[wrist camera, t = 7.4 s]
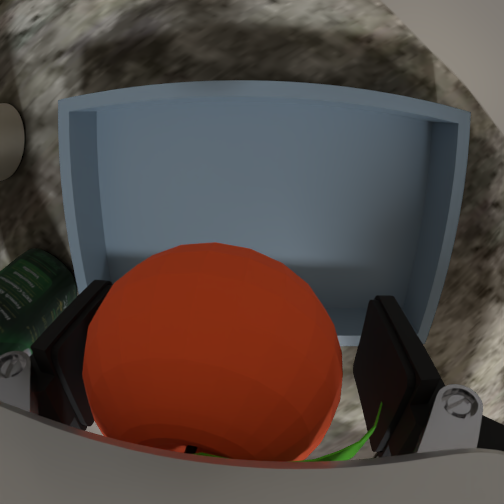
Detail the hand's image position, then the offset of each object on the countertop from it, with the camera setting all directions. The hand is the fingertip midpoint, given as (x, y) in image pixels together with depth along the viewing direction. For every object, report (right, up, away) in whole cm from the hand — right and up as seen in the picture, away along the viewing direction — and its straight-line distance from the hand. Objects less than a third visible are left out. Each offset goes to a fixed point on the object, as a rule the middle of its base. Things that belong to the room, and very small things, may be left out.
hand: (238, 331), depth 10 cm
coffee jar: (-21, -1, +19) cm, 29 cm away
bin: (+1, +6, +15) cm, 16 cm away
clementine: (0, +1, +2) cm, 2 cm away
